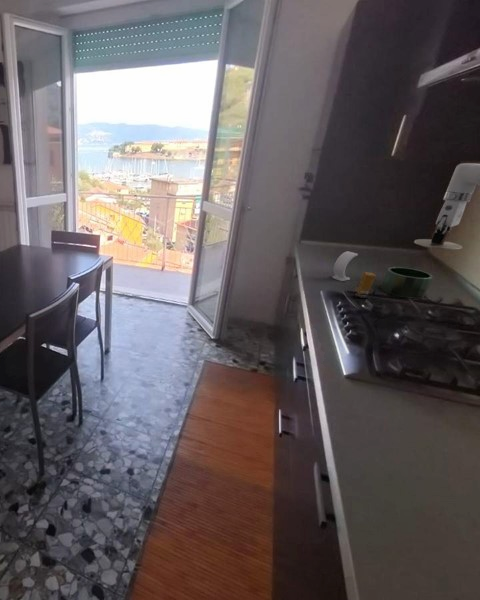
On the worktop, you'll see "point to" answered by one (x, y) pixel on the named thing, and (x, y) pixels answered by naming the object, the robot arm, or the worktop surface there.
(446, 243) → the tin lid
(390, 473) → the worktop surface
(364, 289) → the supplement box
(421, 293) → the lunch tin
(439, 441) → the worktop surface
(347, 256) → the headphone stand
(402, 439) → the worktop surface
